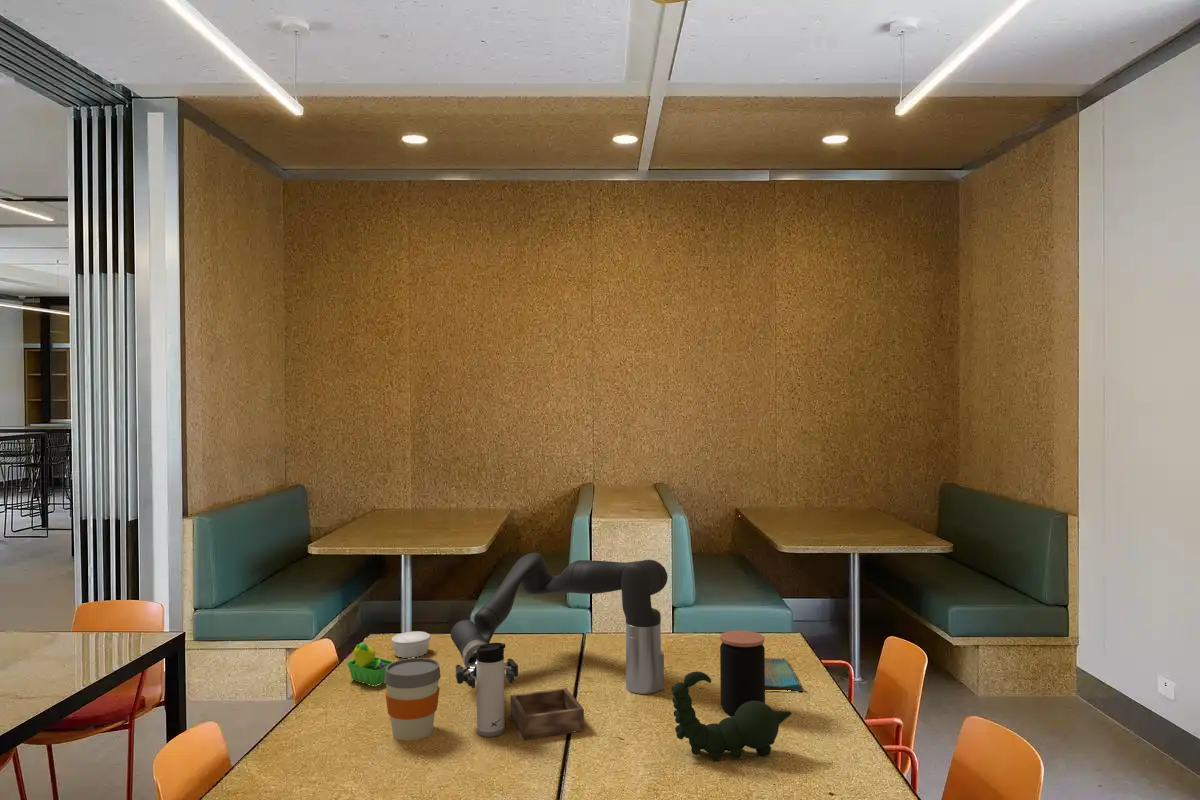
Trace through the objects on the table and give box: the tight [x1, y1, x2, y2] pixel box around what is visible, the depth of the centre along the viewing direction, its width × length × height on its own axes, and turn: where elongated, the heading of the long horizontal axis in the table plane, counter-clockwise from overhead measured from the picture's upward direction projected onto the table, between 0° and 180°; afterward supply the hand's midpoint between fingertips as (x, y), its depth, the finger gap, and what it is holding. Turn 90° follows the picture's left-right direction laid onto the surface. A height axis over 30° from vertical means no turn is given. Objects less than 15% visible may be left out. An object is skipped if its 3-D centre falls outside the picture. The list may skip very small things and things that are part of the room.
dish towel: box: [765, 657, 803, 691], centre depth 211 cm, size 17×23×2 cm
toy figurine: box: [670, 670, 792, 762], centre depth 164 cm, size 9×19×25 cm
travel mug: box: [476, 642, 506, 738], centre depth 177 cm, size 6×7×20 cm
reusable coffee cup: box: [384, 657, 442, 741], centre depth 177 cm, size 13×13×15 cm
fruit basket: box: [346, 642, 394, 686], centre depth 209 cm, size 11×9×11 cm
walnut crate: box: [509, 687, 585, 741], centre depth 181 cm, size 14×14×5 cm
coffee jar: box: [719, 629, 766, 717], centre depth 188 cm, size 11×11×18 cm
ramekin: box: [391, 631, 431, 659], centre depth 232 cm, size 11×11×5 cm
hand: (492, 681), depth 175 cm, fingers open, 8 cm apart
